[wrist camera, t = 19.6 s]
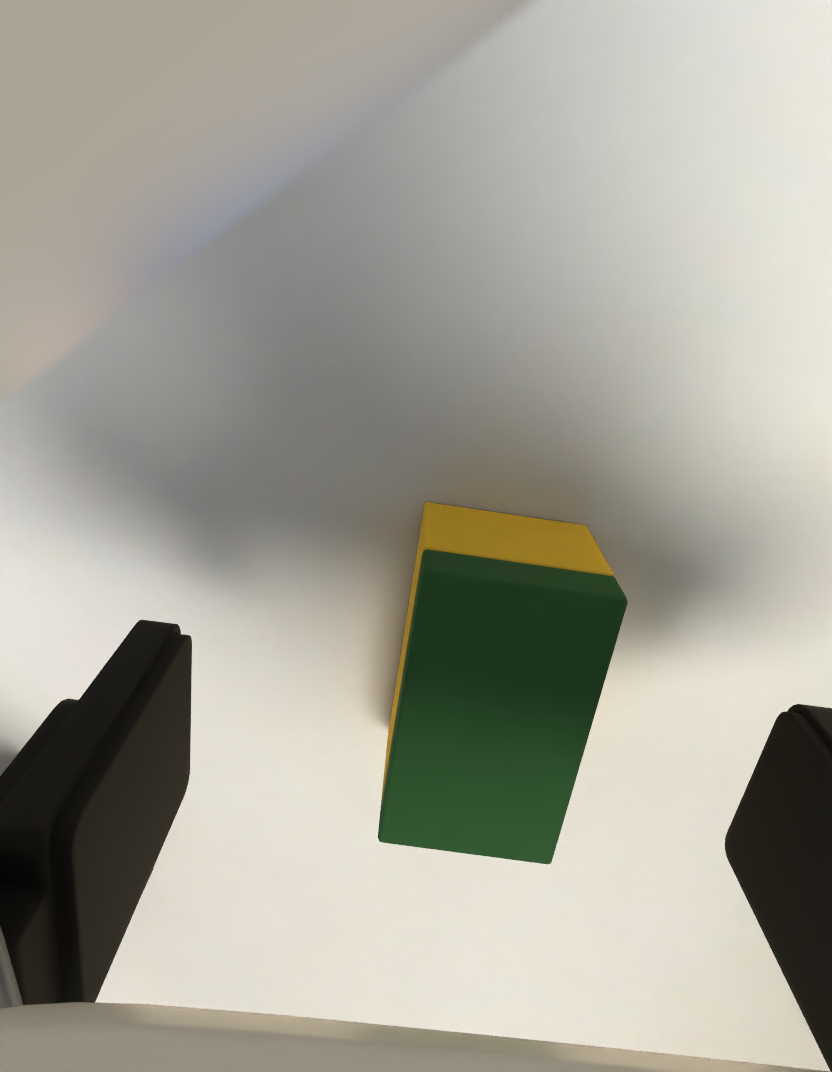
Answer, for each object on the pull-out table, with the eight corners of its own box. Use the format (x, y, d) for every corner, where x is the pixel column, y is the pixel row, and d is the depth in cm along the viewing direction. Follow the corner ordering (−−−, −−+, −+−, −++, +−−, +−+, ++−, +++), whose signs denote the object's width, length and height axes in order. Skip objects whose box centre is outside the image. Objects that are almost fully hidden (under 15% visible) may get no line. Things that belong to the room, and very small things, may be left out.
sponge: (424, 501, 15) (422, 570, 11) (587, 524, 15) (630, 599, 11) (388, 731, 17) (377, 843, 14) (529, 750, 17) (551, 866, 14)
